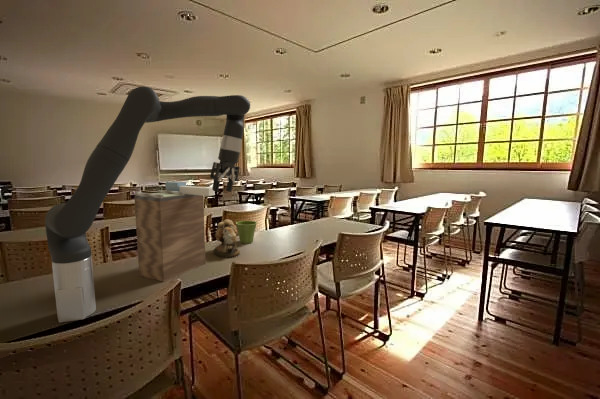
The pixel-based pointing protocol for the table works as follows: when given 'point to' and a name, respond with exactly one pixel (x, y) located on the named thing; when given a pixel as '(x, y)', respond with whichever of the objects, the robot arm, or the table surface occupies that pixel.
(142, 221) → the tall wood grain pillar
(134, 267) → the table surface
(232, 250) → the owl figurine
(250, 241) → the plant pot
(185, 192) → the blue and beige bar
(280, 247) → the table surface
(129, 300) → the table surface
